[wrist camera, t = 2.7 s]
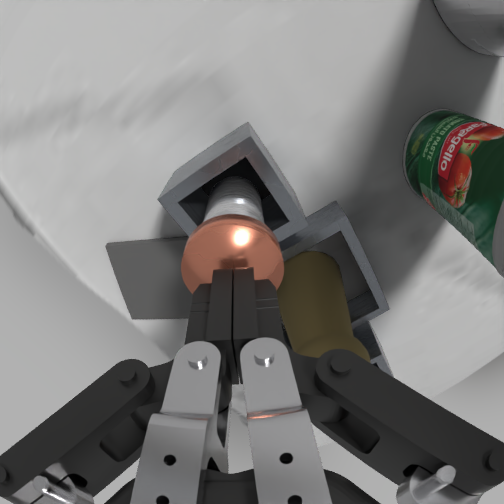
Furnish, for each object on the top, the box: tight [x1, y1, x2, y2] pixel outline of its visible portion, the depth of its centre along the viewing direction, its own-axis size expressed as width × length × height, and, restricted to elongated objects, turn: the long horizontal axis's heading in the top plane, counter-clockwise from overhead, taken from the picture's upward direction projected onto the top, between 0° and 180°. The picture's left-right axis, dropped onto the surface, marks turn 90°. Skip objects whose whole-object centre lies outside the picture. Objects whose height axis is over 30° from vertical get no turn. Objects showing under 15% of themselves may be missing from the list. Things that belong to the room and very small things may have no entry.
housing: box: [157, 122, 394, 378], centre depth 24 cm, size 27×11×5 cm, turn 33°
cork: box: [276, 251, 370, 362], centre depth 21 cm, size 6×6×11 cm
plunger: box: [181, 176, 284, 294], centre depth 15 cm, size 4×4×7 cm
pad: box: [106, 237, 193, 319], centre depth 25 cm, size 8×8×1 cm
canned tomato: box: [403, 109, 504, 277], centre depth 15 cm, size 8×8×11 cm
